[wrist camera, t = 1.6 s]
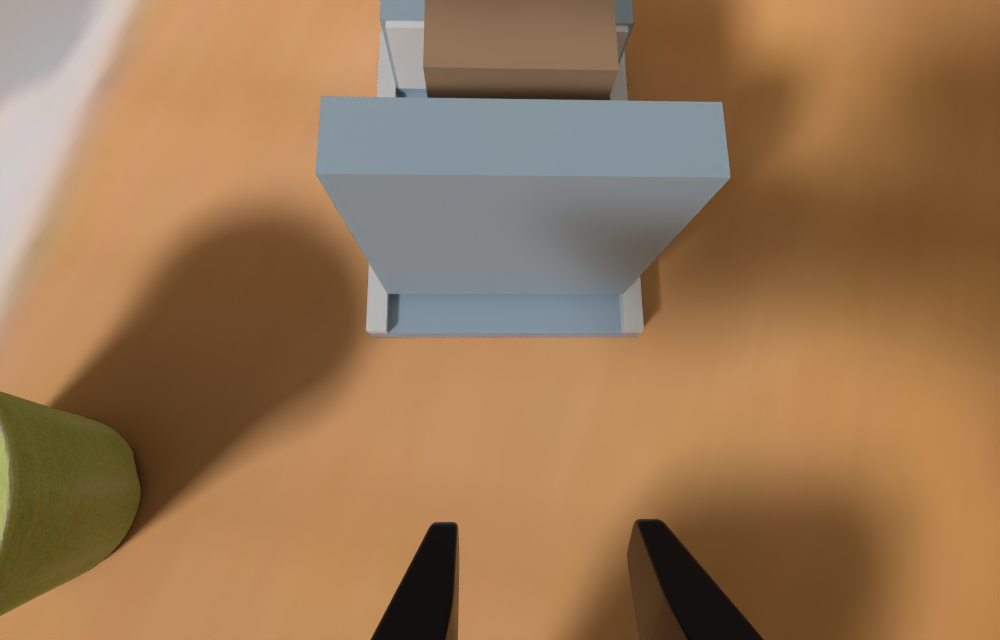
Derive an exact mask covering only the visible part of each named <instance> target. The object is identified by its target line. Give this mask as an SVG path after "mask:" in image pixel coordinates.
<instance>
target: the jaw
mask: <svg viewBox="0 0 1000 640" xmlns="http://www.w3.org/2000/svg"><path fill="white" fill-rule="evenodd" d="M316 175H317V177H318V179H319V180H320V182H321V184H322V185H323V187H324V189H325V190H326V192H327V194H328V195H329V197H330V199H331V200H332V202H333V204H334V206H335V207H336V209H337V211H338V212H339V214H340V216H341V217H342V219H343V221H344V222H345V224H346V226H347V227H348V229H349V231H350V232H351V234H352V236H353V237H354V239H355V241H356V242H357V244H358V246H359V247H360V249H361V251H362V252H363V254H364V256H365V257H366V259H367V261H368V262H369V264H370V266H371V268H372V269H373V271H374V273H375V274H376V276H377V278H378V279H379V281H380V283H381V284H382V286H383V288H384V289H385V291H386V293H387V294H624V293H625V291H626V290H627V289H628V288H629V287H630V286H631V285H632V284H633V283H634V282H635V281H636V280H637V278H638V277H639V276H640V275H641V274H642V273H643V272H644V271H645V270H646V269H647V268H648V267H649V265H650V264H651V263H652V262H653V261H654V260H655V259H656V258H657V257H658V256H659V255H660V254H661V252H662V251H663V250H664V249H665V248H666V247H667V246H668V245H669V244H670V243H671V242H672V241H673V239H674V238H675V237H676V236H677V235H678V234H679V233H680V232H681V231H682V230H683V229H684V228H685V226H686V225H687V224H688V223H689V222H690V221H691V220H692V219H693V218H694V217H695V216H696V215H697V214H698V212H699V211H700V210H701V209H702V208H703V207H704V206H705V205H706V204H707V203H708V202H709V201H710V199H711V198H712V197H713V196H714V195H715V194H716V193H717V192H718V191H719V190H720V189H721V188H722V186H723V185H724V184H725V183H726V182H727V181H728V180H729V179H730V178H731V176H730V167H729V158H728V149H727V140H726V132H725V123H724V114H723V105H722V102H689V101H618V100H547V99H475V98H404V97H333V96H321V107H320V121H319V134H318V148H317V162H316Z"/></svg>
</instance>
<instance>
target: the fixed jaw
mask: <svg viewBox="0 0 1000 640" xmlns="http://www.w3.org/2000/svg"><path fill="white" fill-rule="evenodd" d="M614 5H615V20H616V35H617V51H618V66H619V63H620V60H621V58H622V55H623V52H624V49H625V47H626V44H627V41H628V38H629V36H630V33H631V30H632V27H633V25H634V18H633V5H632V0H614ZM424 11H425V0H381V6H380V21H381V25H382V30H383V34H384V38H385V43H386V47H387V51H388V56H389V60H390V64H391V68H392V73H393V77H394V81H395V86H396V90H397V94H427V91H426V84H425V77H424V70H423V49H424Z"/></svg>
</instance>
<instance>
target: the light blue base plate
mask: <svg viewBox="0 0 1000 640" xmlns="http://www.w3.org/2000/svg"><path fill="white" fill-rule="evenodd" d="M377 97H404V98H428V97H427V94H397V90H396V86H395V81H394V77H393V73H392V68H391V64H390V60H389V56H388V51H387V47H386V43H385V38H384V34H383V31H380V43H379V65H378V86H377ZM608 100H618V101H628V93H627V79H626V64H625V50H624V52H623V55H622V58H621V60H620V63H619V71H618V74H617V77H616V79H615V82H614V85H613V88H612V90H611V93H610V96H609V98H608ZM366 331H367V332H368V333H369V334H370V335H371V337H636V336H637V335H638V334H640V333H641V332H642V331H644V323H643V309H642V294H641V280H640V276H639V277H638V278H637V280H636V281H635V282H634V283H633V284H632V285H631V286H630V287H629V288H628V289H627V290H626V291H625V293H624V294H387V293H386V291H385V289H384V288H383V286H382V284H381V283H380V281H379V279H378V278H377V276H376V274H375V273H374V271H373V269H372V268H371V266H370V264H369V276H368V298H367V319H366Z"/></svg>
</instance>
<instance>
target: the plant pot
mask: <svg viewBox="0 0 1000 640" xmlns="http://www.w3.org/2000/svg"><path fill="white" fill-rule="evenodd" d="M140 496H141V486H140V483H139V479H138V475H137V471H136V465H135V460H134V453H133V451H132V449H131V447H130V446H129V444H128V443H127V441H126V440H125V439H124V438H123V437H122V436H121V435H120V434H119V433H118V432H116V431H115V430H114V429H112V428H111V427H109V426H107V425H105V424H103V423H100V422H98V421H95V420H92V419H89V418H86V417H83V416H79V415H76V414H73V413H69V412H66V411H62V410H58V409H55V408H51V407H48V406H45V405H42V404H38V403H35V402H32V401H29V400H25V399H22V398H19V397H16V396H13V395H10V394H6V393H3V392H0V616H1V615H3V614H5V613H7V612H9V611H11V610H13V609H15V608H17V607H19V606H21V605H23V604H25V603H26V602H28V601H30V600H32V599H34V598H36V597H38V596H40V595H42V594H44V593H46V592H48V591H50V590H52V589H54V588H56V587H58V586H60V585H62V584H64V583H66V582H68V581H70V580H72V579H74V578H76V577H78V576H80V575H82V574H83V573H85V572H87V571H89V570H91V569H92V568H94V567H95V566H96V565H98V564H99V563H100V562H102V561H103V560H104V559H105V558H107V557H108V556H109V555H110V554H111V553H112V551H113V550H114V549H115V548H116V547H117V546H118V545H119V544H120V543H121V541H122V540H123V538H124V537H125V536H126V534H127V532H128V530H129V529H130V527H131V525H132V523H133V521H134V518H135V515H136V513H137V510H138V506H139V502H140Z"/></svg>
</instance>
